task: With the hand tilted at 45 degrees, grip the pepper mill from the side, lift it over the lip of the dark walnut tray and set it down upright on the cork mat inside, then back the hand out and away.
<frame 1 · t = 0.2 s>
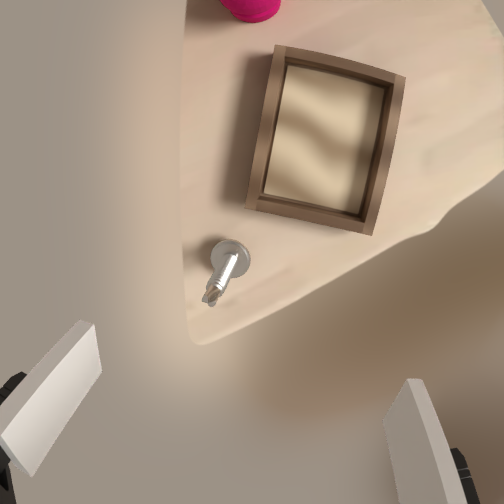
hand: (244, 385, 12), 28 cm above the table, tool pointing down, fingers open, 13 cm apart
pepper mill: (254, 3, 29), on the table
screw: (233, 253, 40), on the table
walnut tray: (324, 138, 34), on the table
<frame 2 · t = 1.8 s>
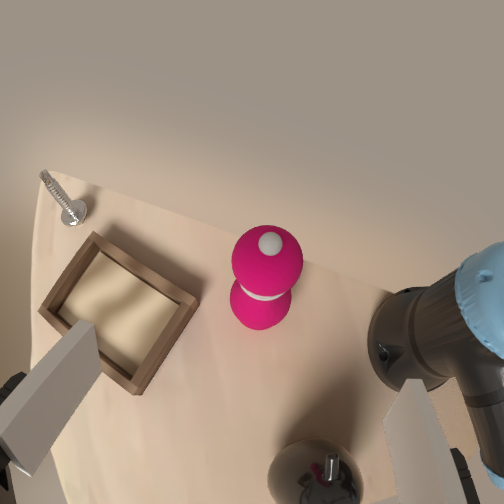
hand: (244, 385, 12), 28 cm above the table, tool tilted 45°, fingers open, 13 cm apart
pepper mill: (258, 307, 41), on the table
screw: (79, 219, 46), on the table
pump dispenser: (305, 467, 33), on the table
walnut tray: (117, 312, 40), on the table
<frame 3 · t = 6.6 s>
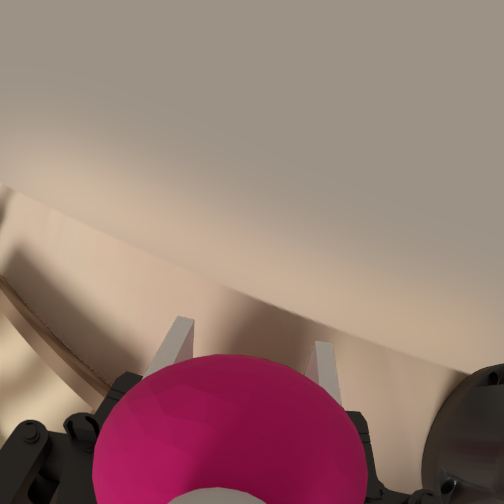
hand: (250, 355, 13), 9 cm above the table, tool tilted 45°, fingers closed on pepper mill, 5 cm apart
pepper mill: (238, 415, 20), on the table, touching gripper
walnut tray: (17, 395, 19), on the table
when the fingers open (11 cm above the table, at t = 12.4 s): pepper mill drops 1 cm, resting on walnut tray.
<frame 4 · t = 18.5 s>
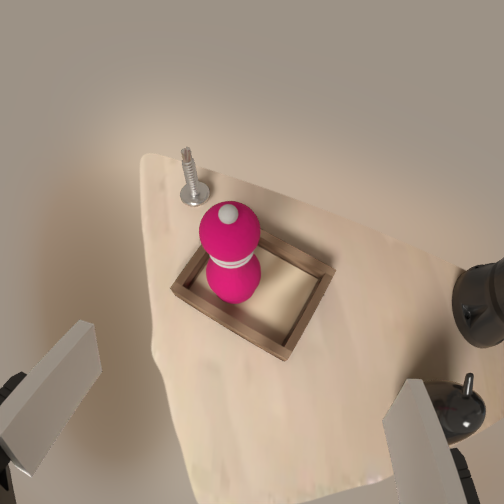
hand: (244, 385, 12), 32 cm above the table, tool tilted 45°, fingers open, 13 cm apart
pepper mill: (234, 283, 46), point 1 cm above the table, touching walnut tray
screw: (196, 200, 53), on the table
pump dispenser: (416, 412, 39), on the table
walnut tray: (254, 287, 46), on the table
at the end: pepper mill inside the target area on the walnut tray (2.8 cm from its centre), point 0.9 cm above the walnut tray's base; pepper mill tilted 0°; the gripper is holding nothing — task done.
